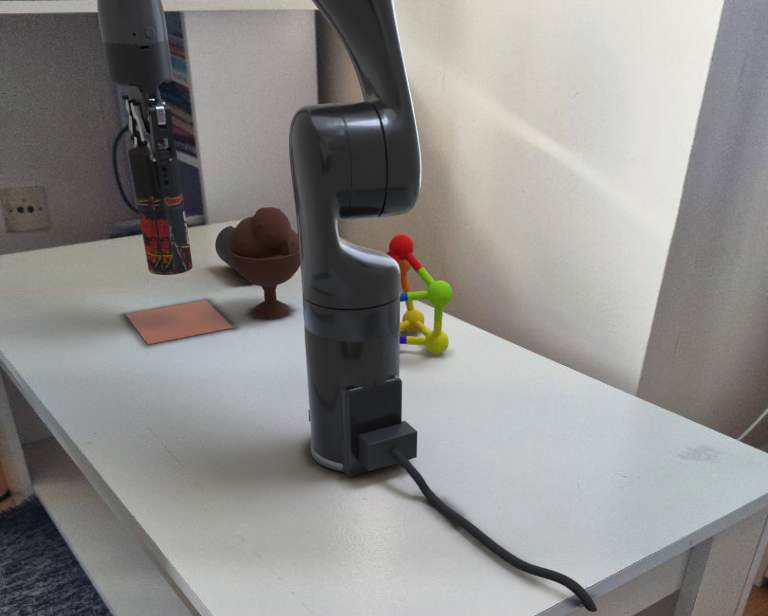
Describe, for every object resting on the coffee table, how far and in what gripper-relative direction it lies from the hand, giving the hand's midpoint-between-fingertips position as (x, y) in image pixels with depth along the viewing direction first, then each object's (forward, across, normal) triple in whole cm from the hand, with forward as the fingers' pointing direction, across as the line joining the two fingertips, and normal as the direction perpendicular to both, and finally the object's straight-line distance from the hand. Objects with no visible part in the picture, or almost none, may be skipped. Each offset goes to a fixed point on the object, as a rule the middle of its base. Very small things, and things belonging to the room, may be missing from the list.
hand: (158, 186), depth 104 cm
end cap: (+19, -14, +16) cm, 28 cm away
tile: (+18, 0, 0) cm, 18 cm away
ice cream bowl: (+19, +3, +13) cm, 23 cm away
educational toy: (+19, +23, +23) cm, 37 cm away
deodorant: (+11, 0, 0) cm, 11 cm away
